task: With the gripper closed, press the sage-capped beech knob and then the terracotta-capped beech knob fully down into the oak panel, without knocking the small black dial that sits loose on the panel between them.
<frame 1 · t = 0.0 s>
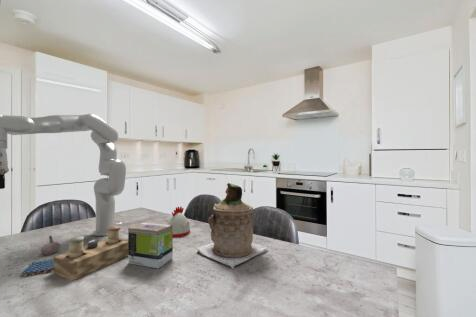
kitchen timer: (177, 233, 127), on the table
tea box: (151, 261, 92), on the table
knob terracotta: (113, 236, 97), point 8 cm above the table, slide at 0.0 cm
garlic bulb: (50, 253, 100), on the table
cookie jar: (231, 252, 101), on the table
knob sage: (76, 249, 84), point 8 cm above the table, slide at 0.0 cm
panel: (96, 262, 90), on the table
dial: (92, 247, 91), point 6 cm above the table, touching panel
woven mat: (42, 270, 86), on the table
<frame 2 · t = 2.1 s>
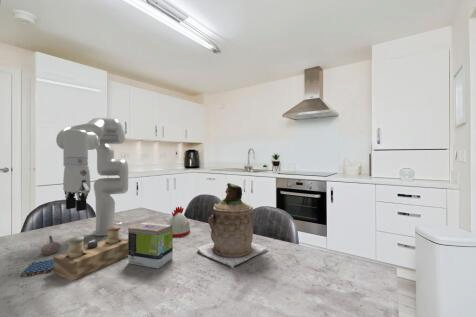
hand: (76, 209, 84), 24 cm above the table, tool pointing down, fingers open, 6 cm apart
nothing on the table moved.
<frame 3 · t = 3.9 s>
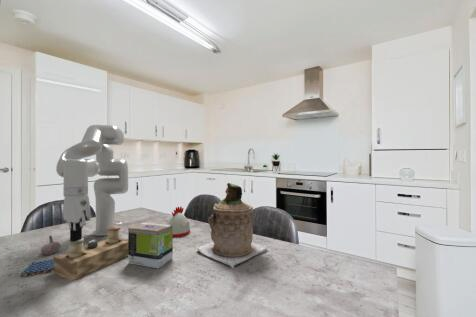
hand: (76, 239, 83), 12 cm above the table, tool pointing down, fingers closed
knob sage: (76, 250, 84), point 8 cm above the table, slide at 0.5 cm, touching gripper
everything else where it was.
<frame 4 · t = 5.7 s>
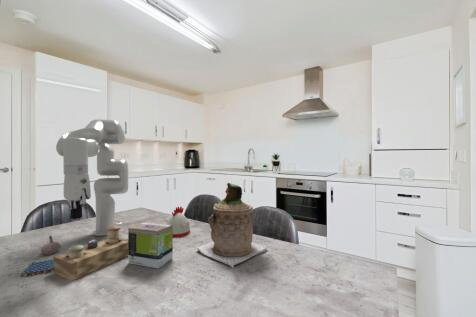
hand: (76, 218, 84), 20 cm above the table, tool pointing down, fingers closed
knob sage: (76, 257, 84), point 5 cm above the table, slide at 3.3 cm
everything else where it was.
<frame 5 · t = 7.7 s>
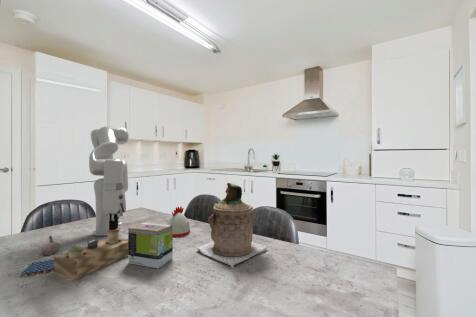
hand: (113, 228, 97), 12 cm above the table, tool pointing down, fingers closed
knob terracotta: (113, 237, 97), point 8 cm above the table, slide at 0.6 cm, touching gripper
everything else where it was.
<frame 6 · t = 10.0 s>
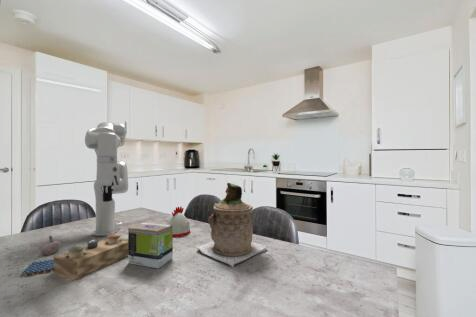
hand: (107, 201, 99), 24 cm above the table, tool pointing down, fingers closed
knob terracotta: (113, 244, 97), point 5 cm above the table, slide at 3.4 cm
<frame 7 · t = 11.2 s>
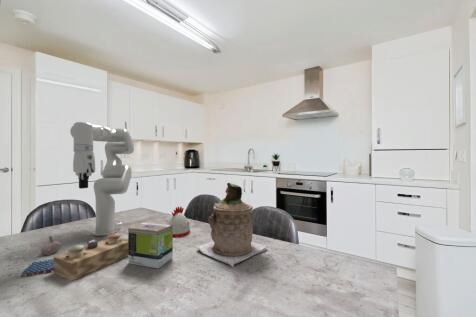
hand: (83, 188, 103), 29 cm above the table, tool pointing down, fingers closed
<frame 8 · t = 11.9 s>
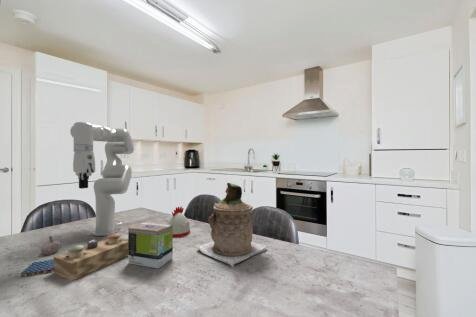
hand: (83, 188, 103), 29 cm above the table, tool pointing down, fingers closed
at the end: knob sage slide at 3.3 cm; knob terracotta slide at 3.4 cm; dial moved 0.0 cm from its start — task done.
